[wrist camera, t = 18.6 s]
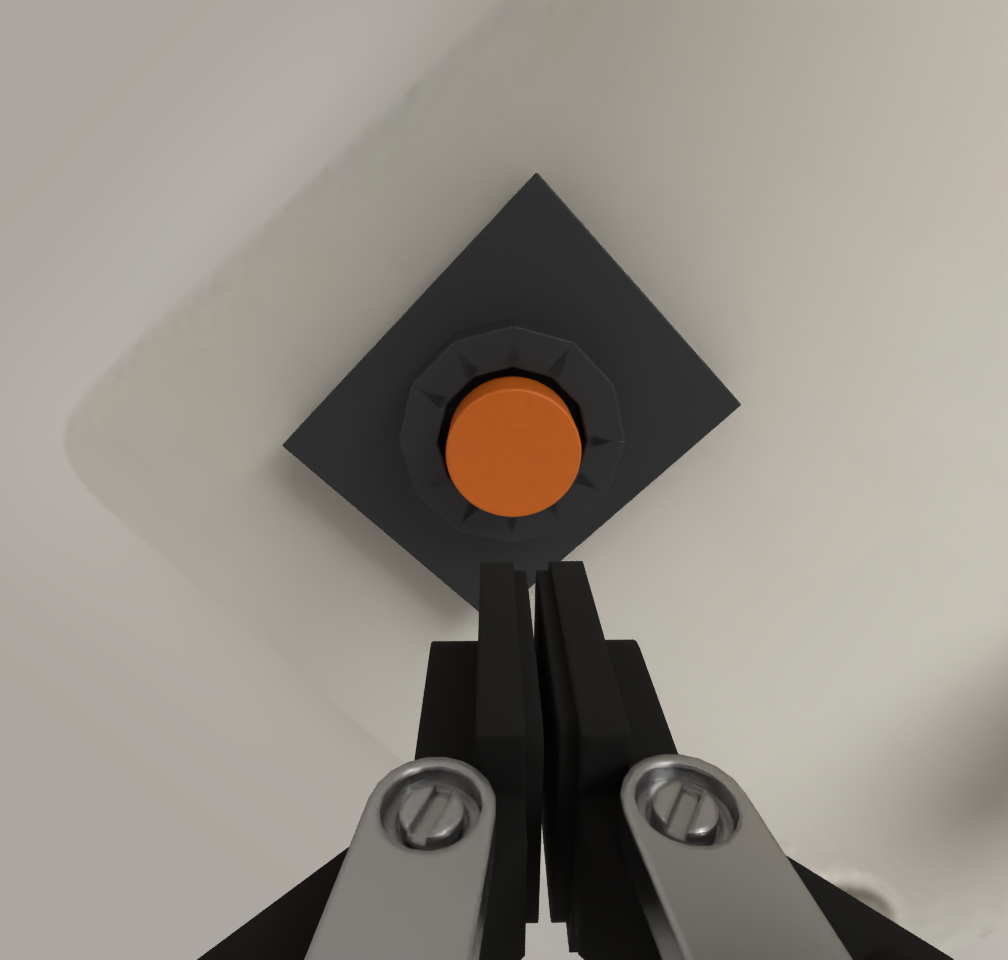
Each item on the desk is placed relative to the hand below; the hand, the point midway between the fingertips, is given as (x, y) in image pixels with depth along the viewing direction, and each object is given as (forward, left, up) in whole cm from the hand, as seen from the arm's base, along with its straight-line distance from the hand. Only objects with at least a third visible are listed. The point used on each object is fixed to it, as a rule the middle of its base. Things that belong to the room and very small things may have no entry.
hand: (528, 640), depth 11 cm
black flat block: (0, 0, -14) cm, 14 cm away
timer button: (0, 0, -11) cm, 11 cm away
